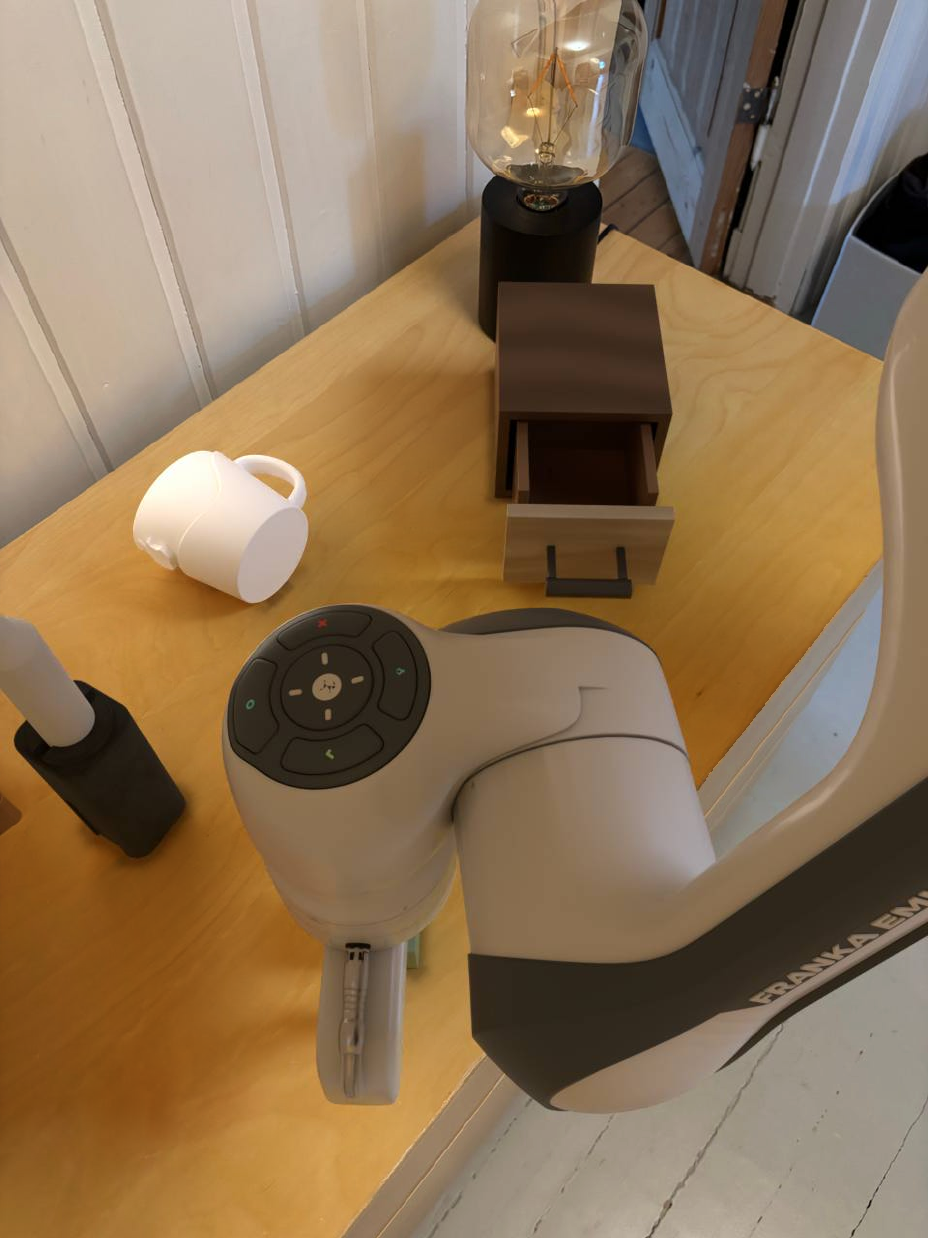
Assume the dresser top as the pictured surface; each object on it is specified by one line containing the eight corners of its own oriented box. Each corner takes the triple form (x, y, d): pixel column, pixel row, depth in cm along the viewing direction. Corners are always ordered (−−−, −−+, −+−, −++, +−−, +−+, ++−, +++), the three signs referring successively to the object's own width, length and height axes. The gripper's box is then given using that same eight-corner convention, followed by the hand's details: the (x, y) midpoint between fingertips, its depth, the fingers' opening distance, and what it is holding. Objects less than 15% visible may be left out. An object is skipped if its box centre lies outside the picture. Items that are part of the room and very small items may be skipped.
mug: (241, 630, 70) (219, 567, 63) (149, 574, 73) (118, 508, 66) (339, 525, 75) (328, 457, 69) (250, 476, 78) (231, 406, 71)
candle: (193, 800, 63) (59, 586, 42) (141, 865, 60) (-28, 672, 39) (134, 764, 64) (-24, 539, 43) (82, 826, 62) (-112, 619, 41)
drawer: (660, 632, 69) (681, 568, 62) (502, 629, 69) (507, 565, 62) (639, 452, 79) (656, 381, 72) (501, 450, 79) (505, 378, 72)
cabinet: (649, 500, 77) (672, 413, 69) (494, 497, 77) (498, 410, 69) (635, 374, 85) (654, 283, 77) (494, 372, 85) (498, 281, 77)
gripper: (422, 1094, 39) (428, 1125, 50) (437, 665, 50) (440, 771, 61) (269, 1091, 39) (311, 1122, 50) (319, 663, 50) (344, 770, 61)
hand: (382, 927), depth 56 cm, fingers open, 8 cm apart
